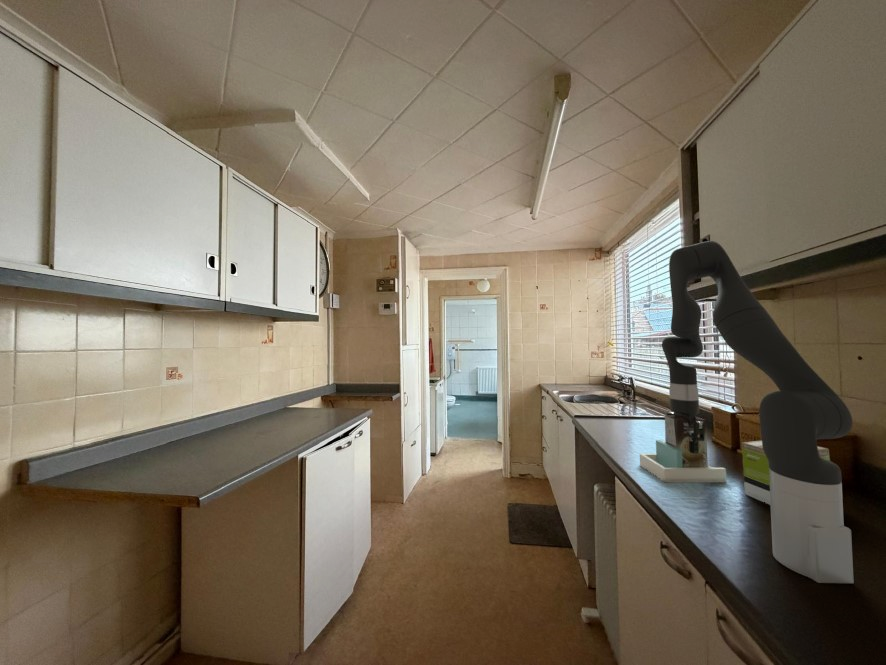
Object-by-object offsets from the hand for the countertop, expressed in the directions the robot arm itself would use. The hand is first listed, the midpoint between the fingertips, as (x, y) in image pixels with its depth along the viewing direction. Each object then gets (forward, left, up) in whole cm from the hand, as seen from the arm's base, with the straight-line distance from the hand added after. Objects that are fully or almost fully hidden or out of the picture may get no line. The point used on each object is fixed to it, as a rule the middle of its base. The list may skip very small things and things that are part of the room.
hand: (685, 449), depth 102 cm
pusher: (0, +5, -6) cm, 8 cm away
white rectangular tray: (0, +2, -8) cm, 8 cm away
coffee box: (0, 0, -6) cm, 6 cm away
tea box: (-17, -14, -8) cm, 23 cm away
